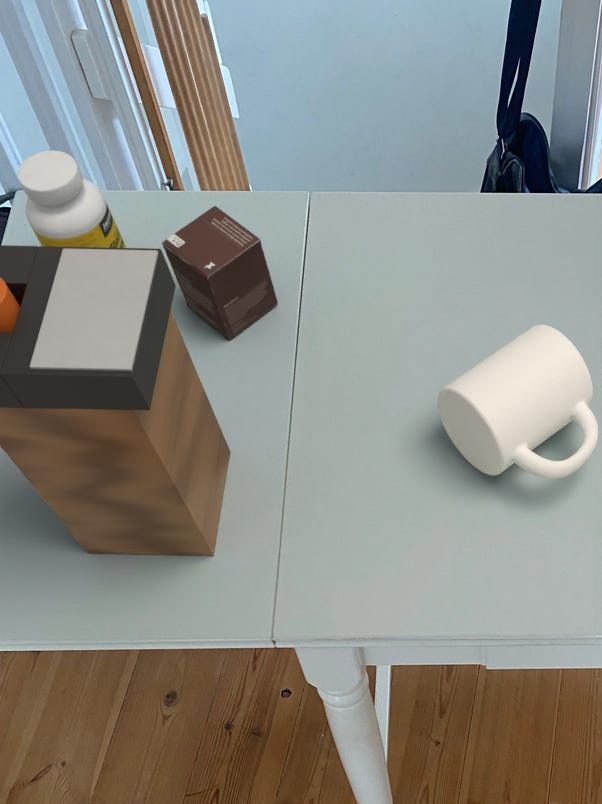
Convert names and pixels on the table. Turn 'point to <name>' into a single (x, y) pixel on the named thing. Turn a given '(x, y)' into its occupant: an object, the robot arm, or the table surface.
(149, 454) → the block
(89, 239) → the pill bottle
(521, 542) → the table surface
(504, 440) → the mug
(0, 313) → the button
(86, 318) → the scale
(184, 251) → the box
